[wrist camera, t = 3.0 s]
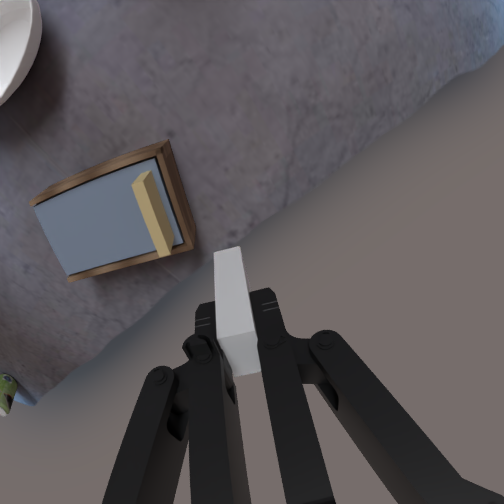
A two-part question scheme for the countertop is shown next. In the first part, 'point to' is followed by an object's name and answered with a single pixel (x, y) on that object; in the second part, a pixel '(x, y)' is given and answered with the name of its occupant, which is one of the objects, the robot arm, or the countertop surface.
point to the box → (173, 188)
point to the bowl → (17, 42)
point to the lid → (111, 218)
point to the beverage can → (6, 393)
